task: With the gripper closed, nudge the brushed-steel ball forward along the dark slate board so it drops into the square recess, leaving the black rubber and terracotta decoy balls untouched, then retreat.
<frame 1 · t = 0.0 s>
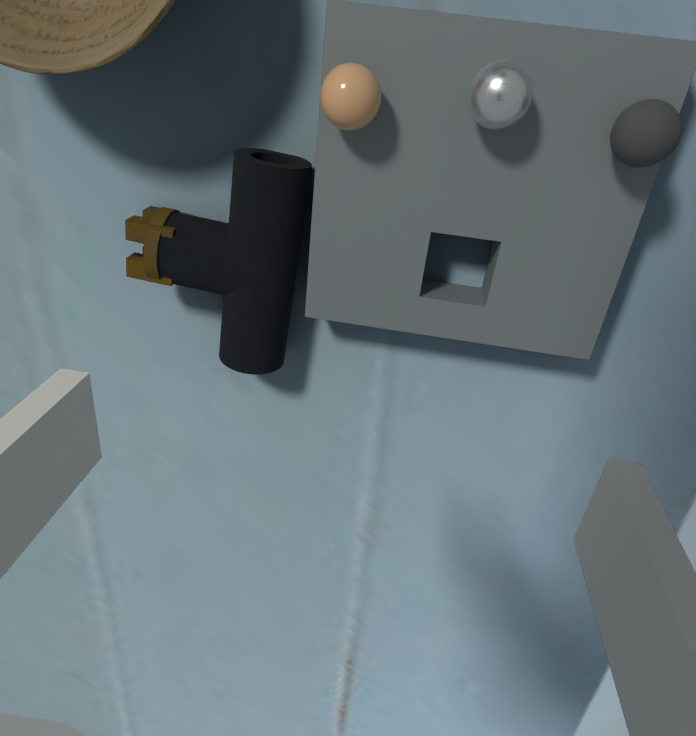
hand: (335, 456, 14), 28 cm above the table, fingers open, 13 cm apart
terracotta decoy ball: (354, 95, 32), point 3 cm above the table, touching slate board
pipe connector: (229, 245, 42), on the table
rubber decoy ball: (635, 130, 31), point 3 cm above the table, touching slate board
slate board: (470, 189, 37), on the table
steel ball: (496, 93, 31), point 3 cm above the table, touching slate board
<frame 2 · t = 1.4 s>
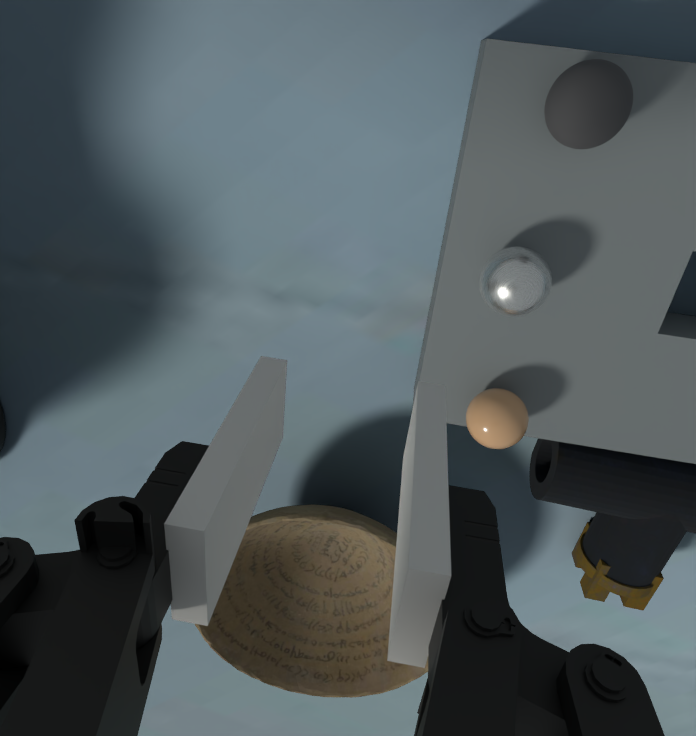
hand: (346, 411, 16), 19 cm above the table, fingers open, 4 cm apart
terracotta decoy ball: (493, 402, 33), point 3 cm above the table, touching slate board
bowl: (334, 535, 45), on the table
pipe connector: (626, 493, 39), on the table
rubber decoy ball: (578, 102, 25), point 3 cm above the table, touching slate board
slate board: (610, 265, 31), on the table
steel ball: (510, 270, 29), point 3 cm above the table, touching slate board
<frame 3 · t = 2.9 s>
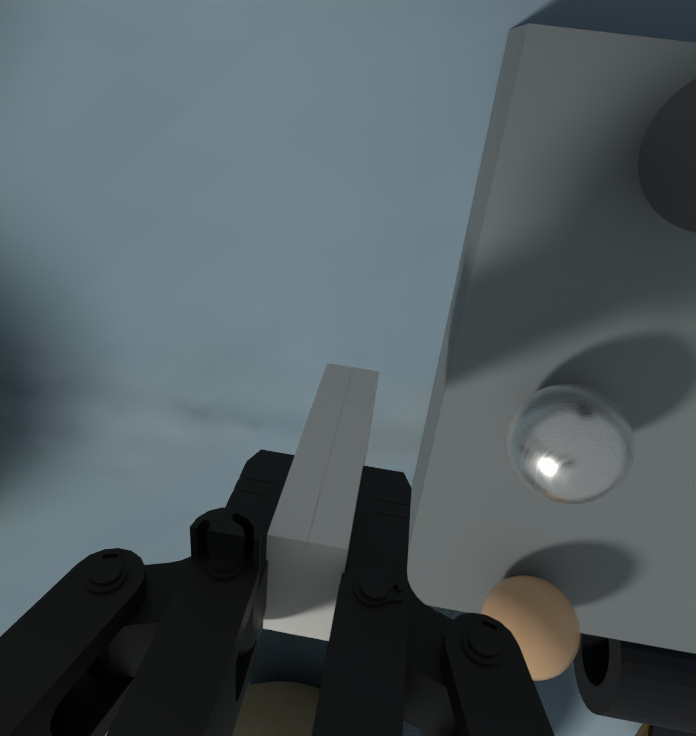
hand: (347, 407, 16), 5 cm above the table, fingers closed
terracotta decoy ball: (522, 586, 21), point 3 cm above the table, touching slate board
bowl: (298, 698, 34), on the table
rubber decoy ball: (694, 142, 13), point 3 cm above the table, touching slate board
steel ball: (556, 410, 17), point 3 cm above the table, touching slate board
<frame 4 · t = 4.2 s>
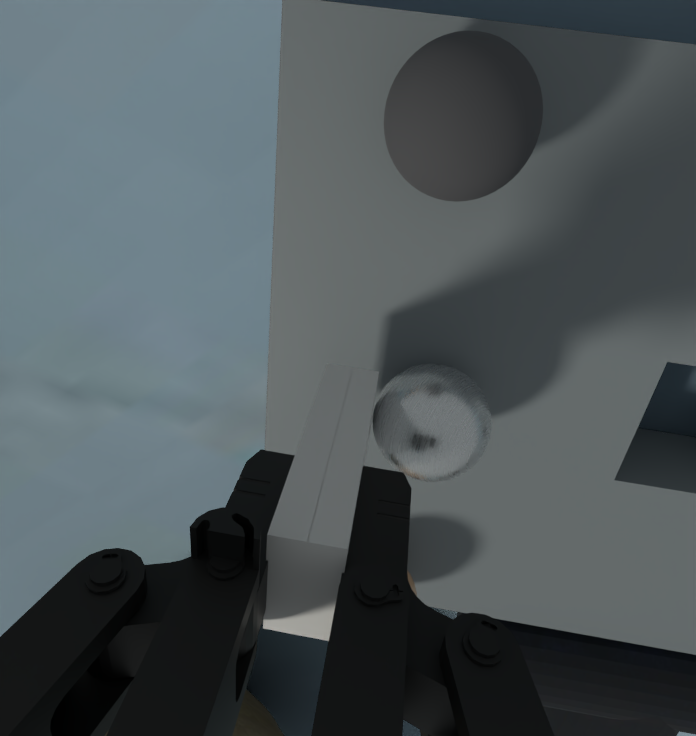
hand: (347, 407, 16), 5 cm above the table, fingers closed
bowl: (205, 681, 34), on the table
pipe connector: (598, 646, 28), on the table
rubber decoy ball: (457, 113, 14), point 3 cm above the table, touching slate board
slate board: (545, 360, 20), on the table
steel ball: (384, 398, 17), point 4 cm above the table, tilted 58°, touching slate board
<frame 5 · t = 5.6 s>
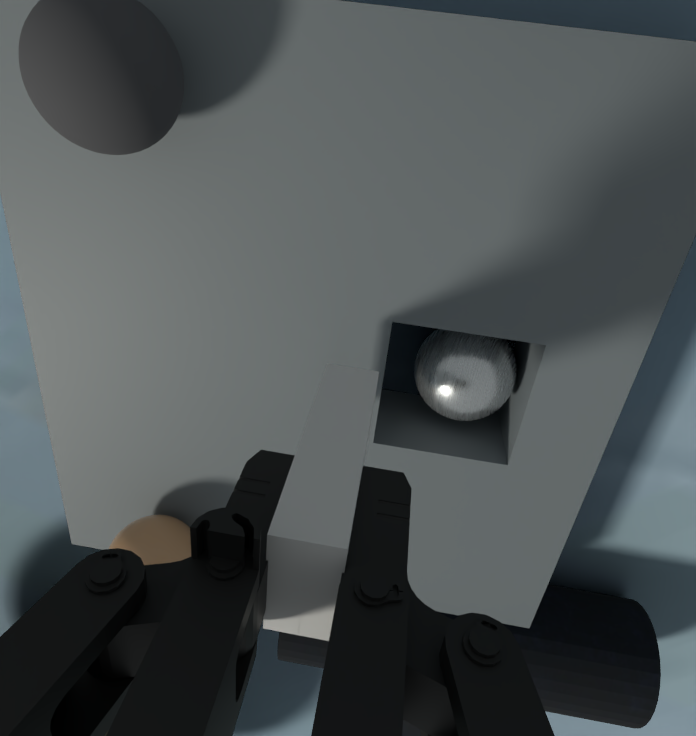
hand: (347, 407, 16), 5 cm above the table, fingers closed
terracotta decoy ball: (173, 528, 22), point 3 cm above the table, touching slate board
pipe connector: (442, 621, 29), on the table
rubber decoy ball: (140, 72, 14), point 3 cm above the table, touching slate board
slate board: (329, 328, 21), on the table
steel ball: (417, 355, 20), point 1 cm above the table, tilted 71°
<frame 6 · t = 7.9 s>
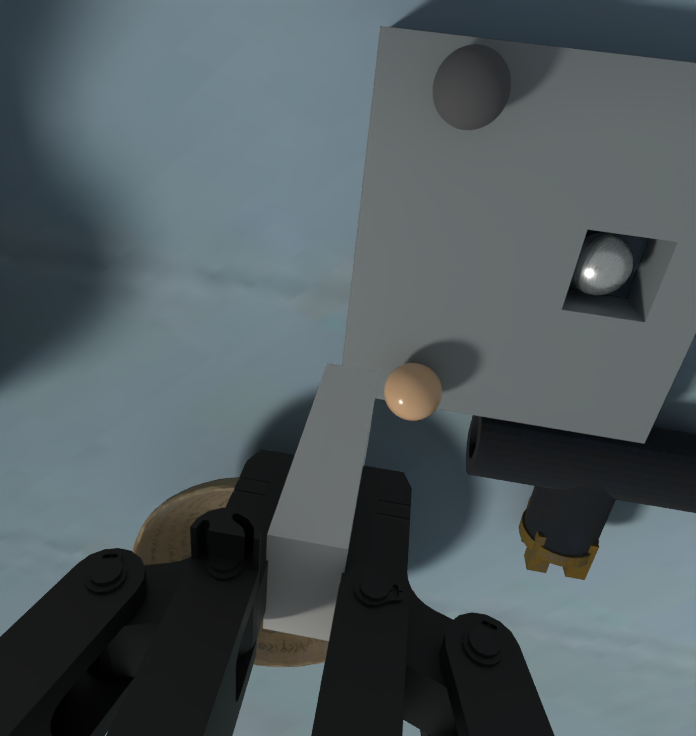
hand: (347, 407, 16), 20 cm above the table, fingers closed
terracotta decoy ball: (414, 377, 34), point 3 cm above the table, touching slate board
bowl: (281, 512, 47), on the table
pipe connector: (565, 467, 41), on the table
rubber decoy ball: (469, 86, 26), point 3 cm above the table, touching slate board
slate board: (523, 245, 33), on the table
steel ball: (574, 254, 32), resting in slate board, tilted 39°
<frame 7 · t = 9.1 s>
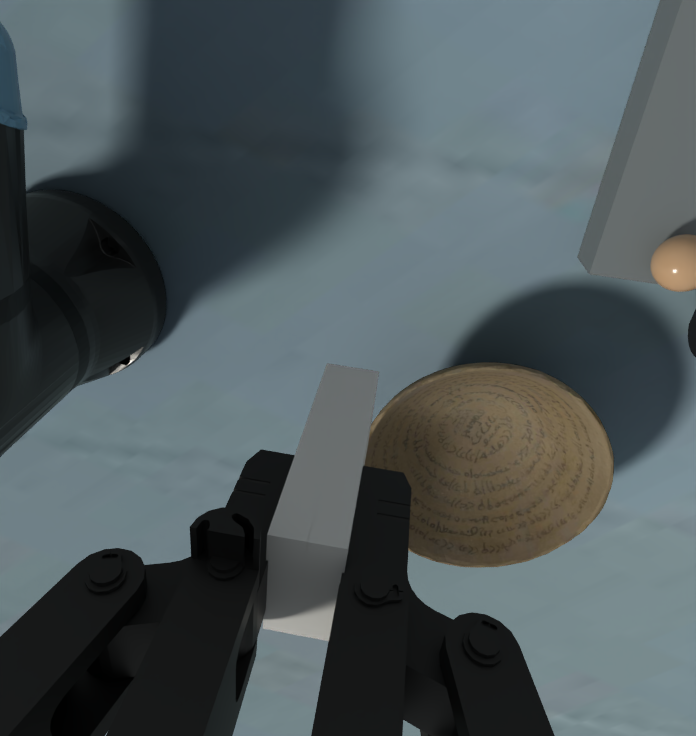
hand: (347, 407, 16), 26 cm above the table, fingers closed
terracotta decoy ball: (672, 254, 35), point 3 cm above the table, touching slate board
bowl: (474, 419, 47), on the table
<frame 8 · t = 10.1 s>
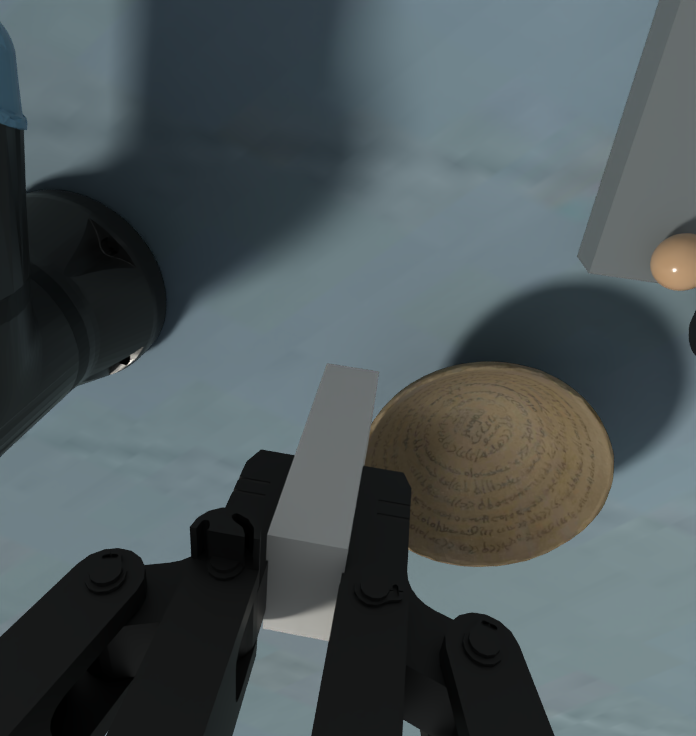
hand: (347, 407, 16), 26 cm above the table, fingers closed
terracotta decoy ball: (671, 253, 35), point 3 cm above the table, touching slate board
bowl: (474, 418, 47), on the table
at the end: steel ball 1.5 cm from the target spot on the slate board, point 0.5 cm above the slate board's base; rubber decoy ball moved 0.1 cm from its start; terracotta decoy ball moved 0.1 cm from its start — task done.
